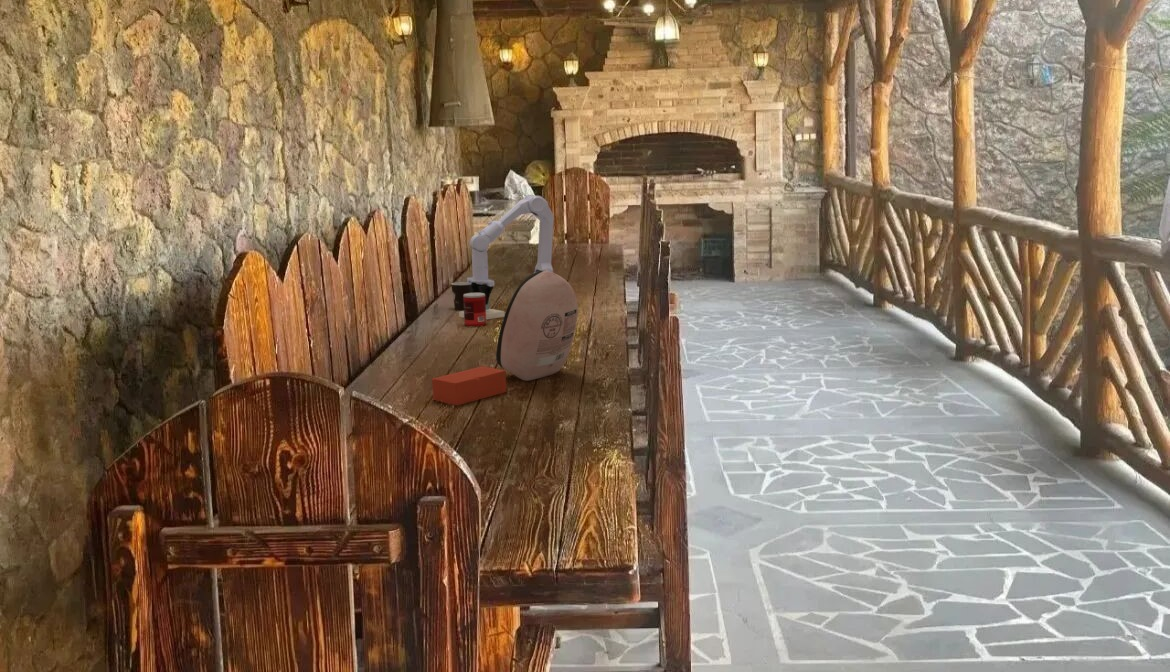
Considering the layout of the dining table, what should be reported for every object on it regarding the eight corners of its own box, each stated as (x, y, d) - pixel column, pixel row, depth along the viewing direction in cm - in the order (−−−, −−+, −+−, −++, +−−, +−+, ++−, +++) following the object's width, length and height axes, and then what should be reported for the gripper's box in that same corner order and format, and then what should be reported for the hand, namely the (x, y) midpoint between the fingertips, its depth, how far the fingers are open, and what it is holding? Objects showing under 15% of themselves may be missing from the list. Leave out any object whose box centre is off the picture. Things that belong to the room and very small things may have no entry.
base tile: (504, 316, 392) (504, 311, 392) (478, 320, 385) (477, 315, 384) (485, 312, 401) (485, 307, 401) (459, 316, 393) (459, 311, 393)
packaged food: (539, 365, 308) (537, 263, 302) (592, 374, 296) (590, 267, 290) (486, 380, 291) (482, 271, 286) (539, 389, 279) (536, 276, 273)
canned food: (488, 322, 380) (487, 292, 378) (483, 326, 372) (482, 295, 370) (467, 322, 381) (465, 292, 379) (462, 326, 373) (461, 295, 371)
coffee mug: (472, 310, 407) (471, 284, 405) (450, 311, 407) (449, 285, 405) (476, 305, 418) (475, 280, 416) (454, 306, 418) (453, 281, 417)
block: (489, 309, 392) (488, 293, 391) (480, 310, 390) (480, 294, 389) (483, 308, 395) (482, 292, 394) (474, 309, 393) (473, 293, 392)
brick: (482, 387, 284) (482, 365, 282) (507, 392, 278) (506, 370, 277) (432, 401, 270) (431, 378, 269) (456, 406, 264) (455, 383, 263)
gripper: (459, 266, 392) (461, 303, 395) (482, 270, 382) (484, 307, 384) (475, 265, 397) (476, 300, 399) (498, 268, 386) (499, 305, 389)
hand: (481, 303), depth 392 cm, fingers closed on block, 4 cm apart
